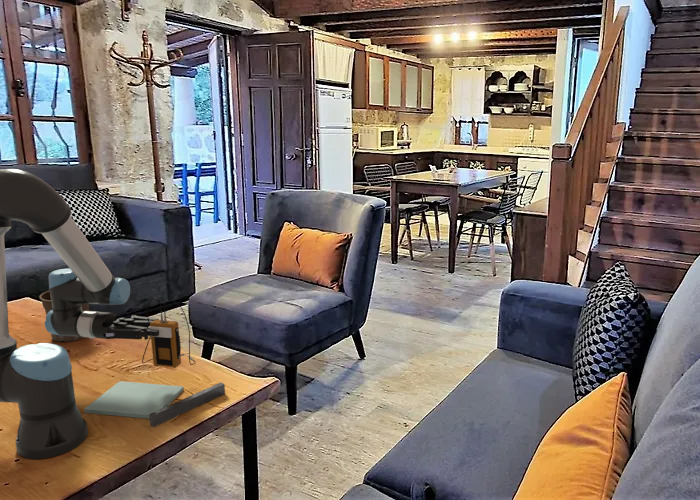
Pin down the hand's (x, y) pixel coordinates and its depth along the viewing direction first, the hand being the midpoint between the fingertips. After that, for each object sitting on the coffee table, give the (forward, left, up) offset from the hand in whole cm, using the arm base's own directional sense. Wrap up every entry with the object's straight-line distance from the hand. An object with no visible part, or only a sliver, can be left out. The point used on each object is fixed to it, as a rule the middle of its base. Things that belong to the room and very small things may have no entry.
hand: (173, 330), depth 151 cm
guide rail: (-9, -8, -18) cm, 22 cm away
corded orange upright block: (+4, +3, -11) cm, 12 cm away
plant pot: (+31, +58, -18) cm, 68 cm away
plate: (-8, +9, -18) cm, 21 cm away
